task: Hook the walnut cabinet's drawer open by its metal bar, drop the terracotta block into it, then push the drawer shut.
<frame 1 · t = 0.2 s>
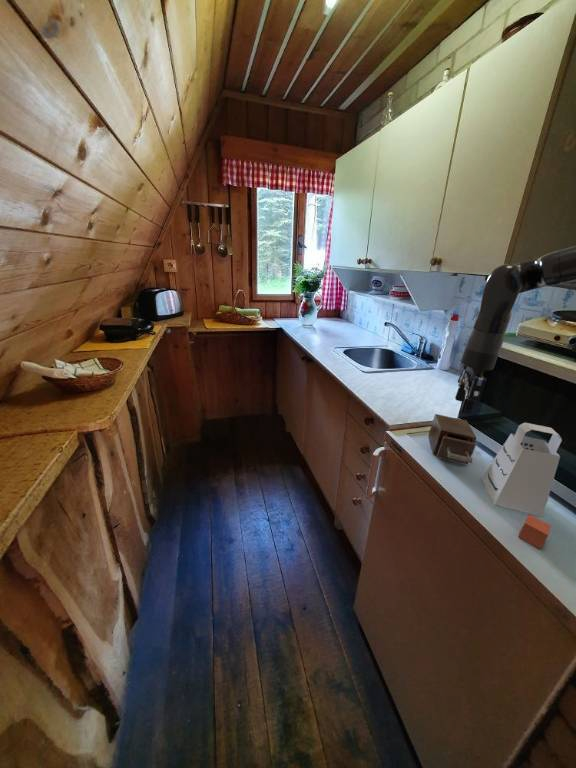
hand: (462, 406, 83), 18 cm above the counter, tool pointing down, fingers open, 8 cm apart
drawer: (454, 446, 91), point 4 cm above the counter, slide at 1.5 cm
cabinet: (446, 448, 98), on the counter
grater: (509, 497, 79), on the counter
block: (530, 538, 66), on the counter
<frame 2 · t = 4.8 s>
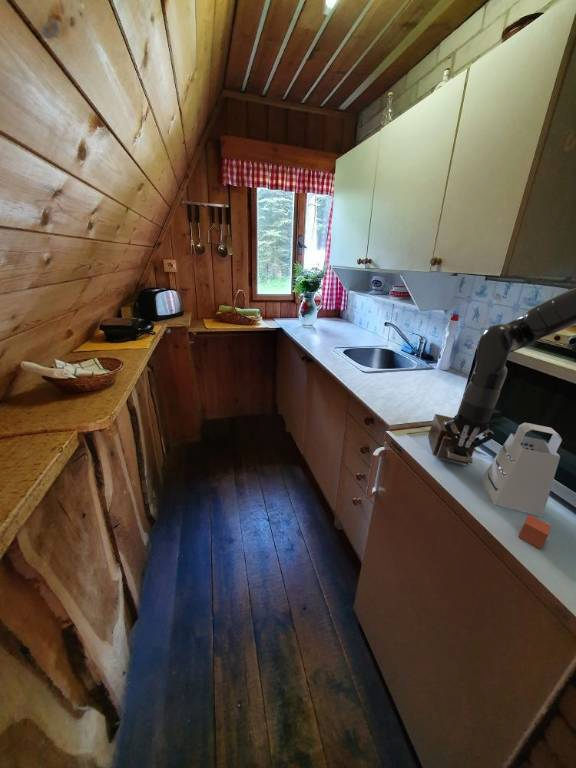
hand: (458, 456, 86), 4 cm above the counter, tool pointing down, fingers closed
drawer: (454, 446, 91), point 4 cm above the counter, slide at 1.6 cm, touching gripper
everything else where it was.
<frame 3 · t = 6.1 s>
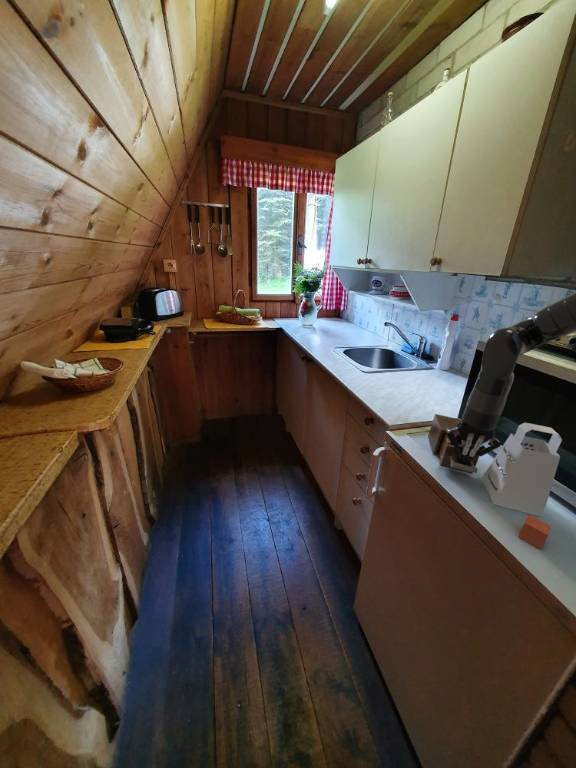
hand: (462, 465, 82), 4 cm above the counter, tool pointing down, fingers closed
drawer: (457, 454, 87), point 4 cm above the counter, slide at 6.2 cm
everything else where it was.
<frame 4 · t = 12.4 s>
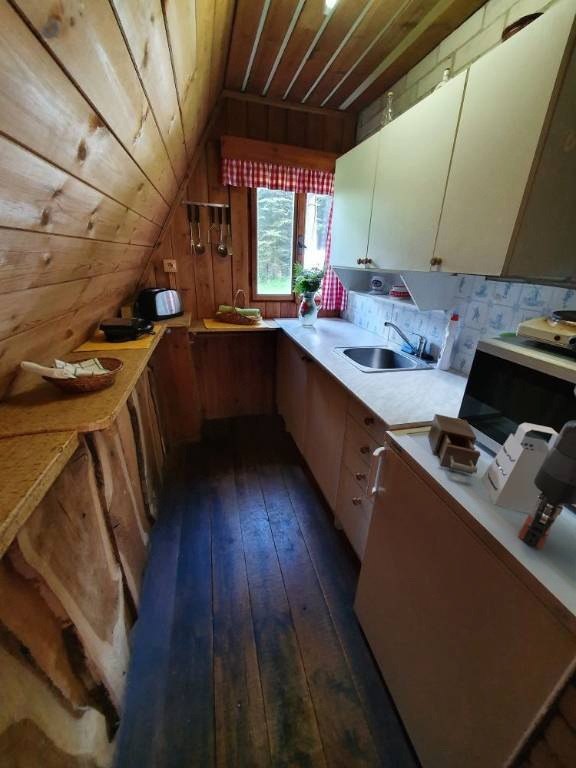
hand: (531, 537, 66), 0 cm above the counter, tool pointing down, fingers closed on block, 4 cm apart
block: (530, 538, 66), on the counter, touching gripper
everything else where it was.
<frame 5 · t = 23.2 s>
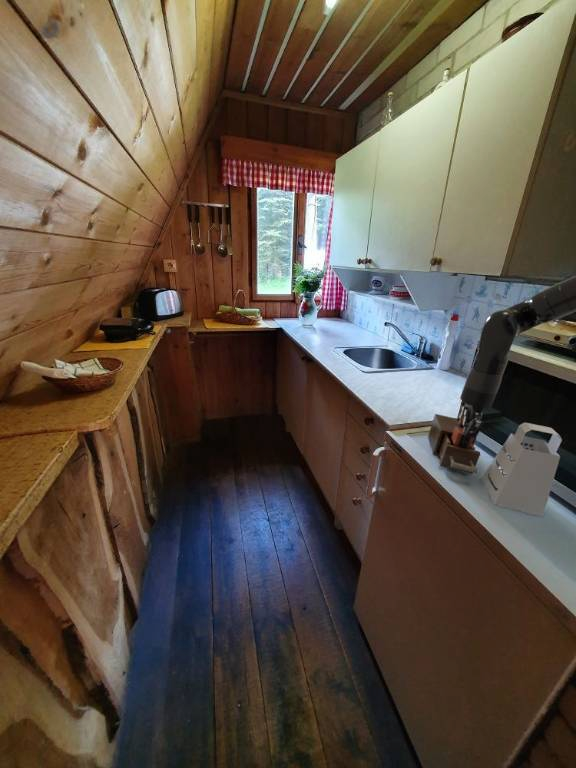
hand: (460, 442, 86), 8 cm above the counter, tool pointing down, fingers closed on block, 4 cm apart
block: (460, 443, 87), point 7 cm above the counter, touching gripper
everything else where it was.
when the fingers open (10 cm above the counter, at t = 33.4 s): block drops 8 cm, resting on drawer.
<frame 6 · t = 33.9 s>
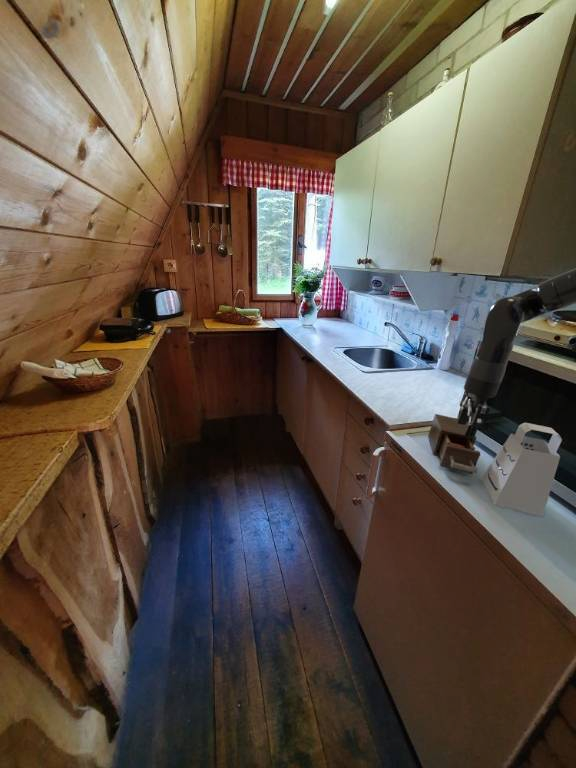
hand: (464, 430, 85), 12 cm above the counter, tool pointing down, fingers open, 8 cm apart
drawer: (457, 454, 87), point 4 cm above the counter, slide at 6.2 cm, touching block
block: (454, 459, 88), point 2 cm above the counter, touching drawer
everything else where it was.
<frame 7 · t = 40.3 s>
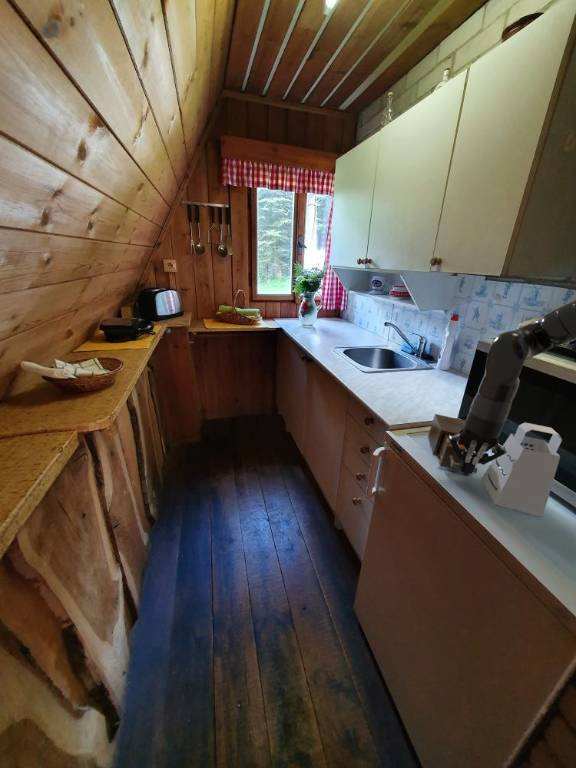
hand: (464, 473, 79), 4 cm above the counter, tool pointing down, fingers closed
drawer: (457, 454, 87), point 4 cm above the counter, slide at 6.1 cm, touching block, gripper
everything else where it was.
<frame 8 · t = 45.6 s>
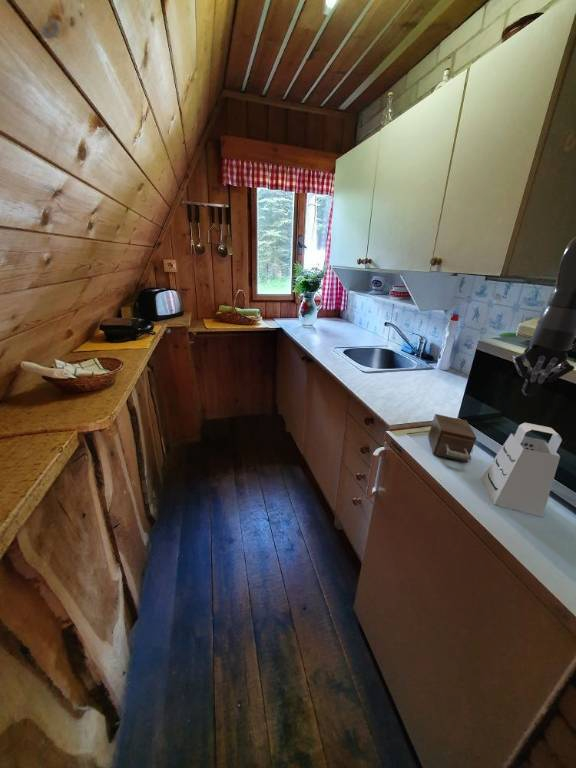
hand: (527, 395, 77), 25 cm above the counter, tool pointing down, fingers closed
drawer: (453, 443, 92), point 4 cm above the counter, slide at 0.0 cm, touching block, cabinet
block: (449, 448, 94), point 2 cm above the counter, touching drawer
everything else where it was.
at the end: block inside the target area in the cabinet (3.0 cm from its centre), point 2.0 cm above the cabinet's base; drawer slide at 0.0 cm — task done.
